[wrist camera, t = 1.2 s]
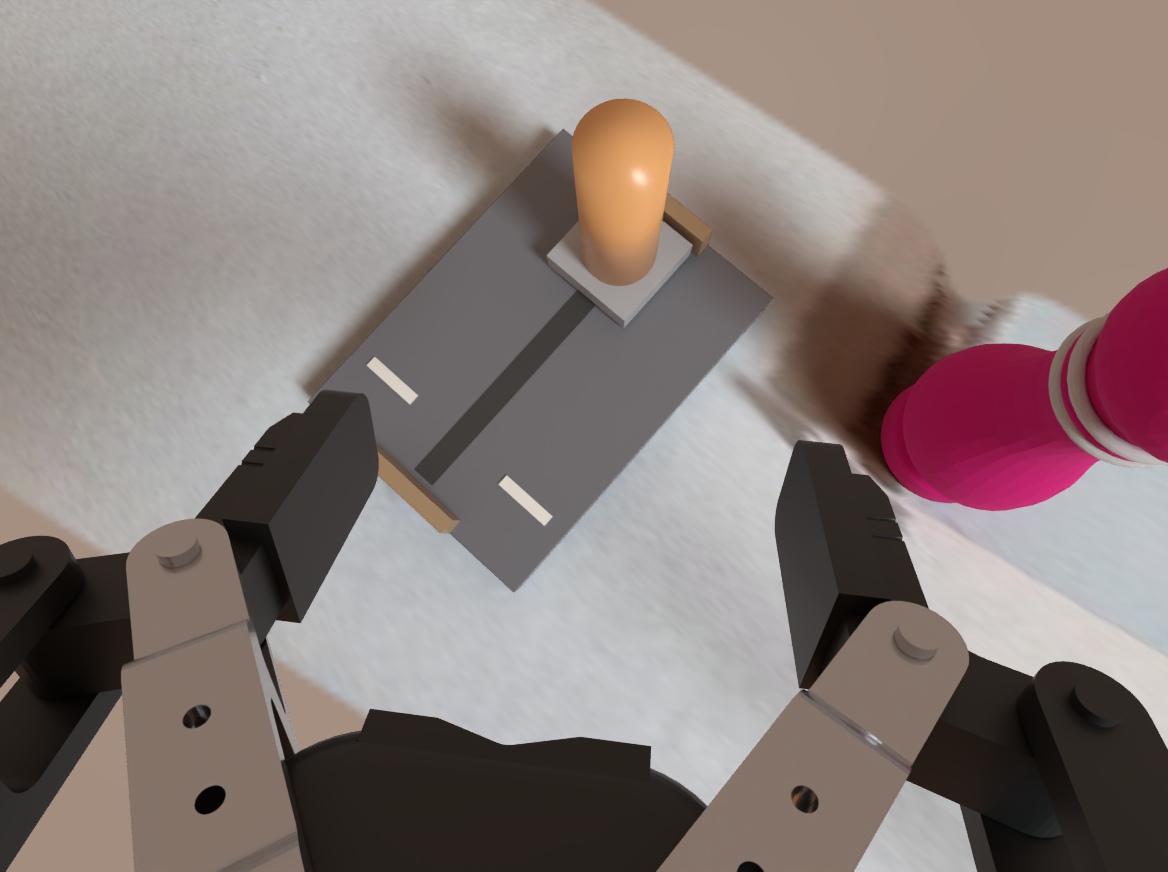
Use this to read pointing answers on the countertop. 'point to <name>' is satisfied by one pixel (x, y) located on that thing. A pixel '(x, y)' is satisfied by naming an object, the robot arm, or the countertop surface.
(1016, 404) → the pepper mill
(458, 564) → the countertop surface
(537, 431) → the fader track
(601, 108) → the fader
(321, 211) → the countertop surface
